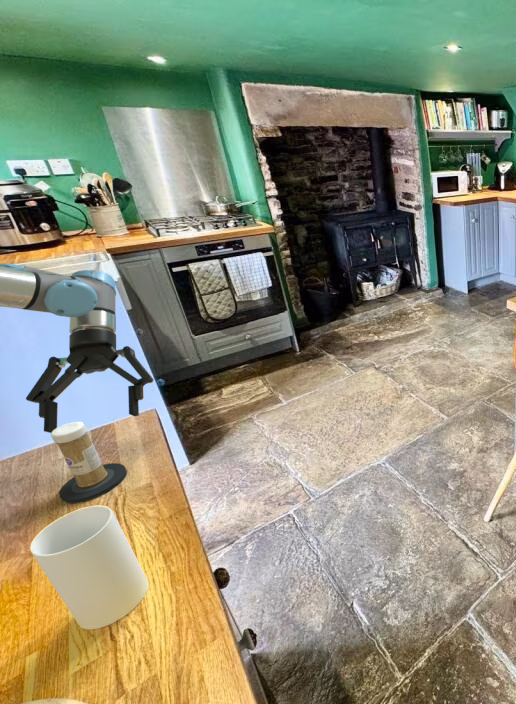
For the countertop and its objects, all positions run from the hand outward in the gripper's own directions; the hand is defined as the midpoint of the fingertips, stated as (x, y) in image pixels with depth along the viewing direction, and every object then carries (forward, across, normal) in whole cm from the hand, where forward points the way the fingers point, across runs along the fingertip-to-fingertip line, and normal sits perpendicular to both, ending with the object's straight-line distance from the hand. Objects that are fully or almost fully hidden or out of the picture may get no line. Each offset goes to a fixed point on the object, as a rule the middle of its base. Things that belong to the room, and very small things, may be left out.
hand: (93, 423), depth 87 cm
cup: (+36, -12, +22) cm, 43 cm away
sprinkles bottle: (+12, 0, 0) cm, 12 cm away
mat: (+13, 0, 0) cm, 13 cm away
